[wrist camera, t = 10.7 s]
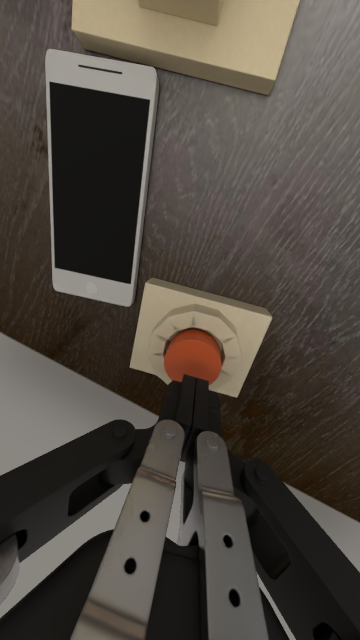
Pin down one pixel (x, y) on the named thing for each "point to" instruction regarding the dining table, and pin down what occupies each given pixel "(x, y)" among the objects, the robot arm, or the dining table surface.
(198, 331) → the button
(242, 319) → the block
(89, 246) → the smartphone
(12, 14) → the dining table surface
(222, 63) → the beige lever base
